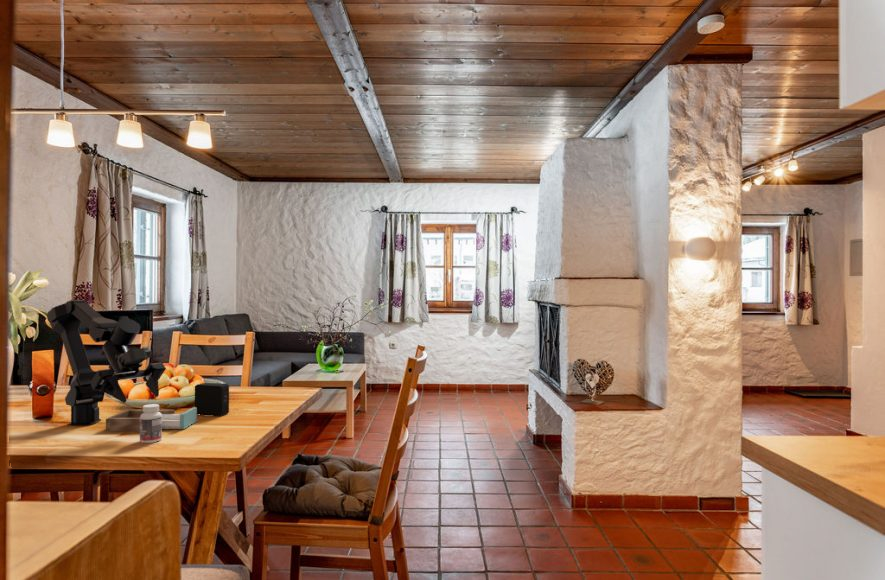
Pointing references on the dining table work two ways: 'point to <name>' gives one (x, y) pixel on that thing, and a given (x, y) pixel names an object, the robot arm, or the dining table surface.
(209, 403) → the electronic device
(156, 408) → the pill bottle
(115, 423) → the dock
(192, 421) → the tray
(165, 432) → the dining table surface
